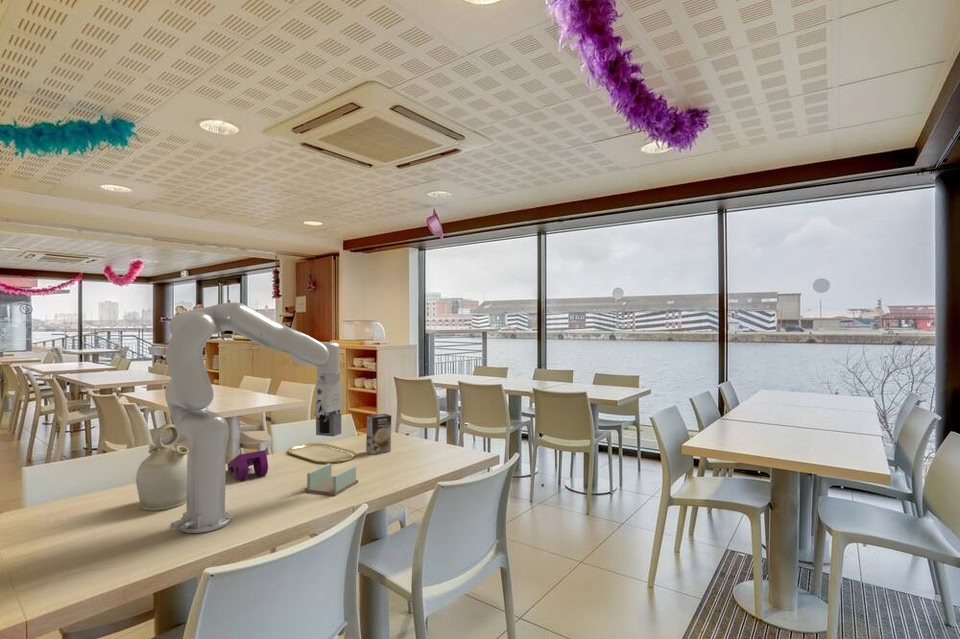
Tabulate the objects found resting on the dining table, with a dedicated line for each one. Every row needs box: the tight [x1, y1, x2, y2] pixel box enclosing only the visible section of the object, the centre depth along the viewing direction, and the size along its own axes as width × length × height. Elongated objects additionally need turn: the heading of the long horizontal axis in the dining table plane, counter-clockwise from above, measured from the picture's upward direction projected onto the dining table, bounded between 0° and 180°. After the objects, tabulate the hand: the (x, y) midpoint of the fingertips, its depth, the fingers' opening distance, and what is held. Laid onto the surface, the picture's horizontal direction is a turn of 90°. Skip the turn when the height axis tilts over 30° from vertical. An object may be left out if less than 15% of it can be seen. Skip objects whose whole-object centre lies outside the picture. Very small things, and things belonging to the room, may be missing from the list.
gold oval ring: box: [287, 442, 357, 464], centre depth 209 cm, size 19×35×2 cm, turn 52°
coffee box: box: [365, 413, 392, 455], centre depth 214 cm, size 9×6×16 cm
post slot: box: [304, 463, 359, 497], centre depth 168 cm, size 14×12×6 cm
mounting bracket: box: [226, 449, 269, 482], centre depth 181 cm, size 9×8×18 cm
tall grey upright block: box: [315, 412, 342, 437], centre depth 166 cm, size 4×7×7 cm, turn 72°
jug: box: [135, 423, 189, 512], centre depth 152 cm, size 15×16×25 cm
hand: (328, 430), depth 166 cm, fingers closed on tall grey upright block, 4 cm apart
